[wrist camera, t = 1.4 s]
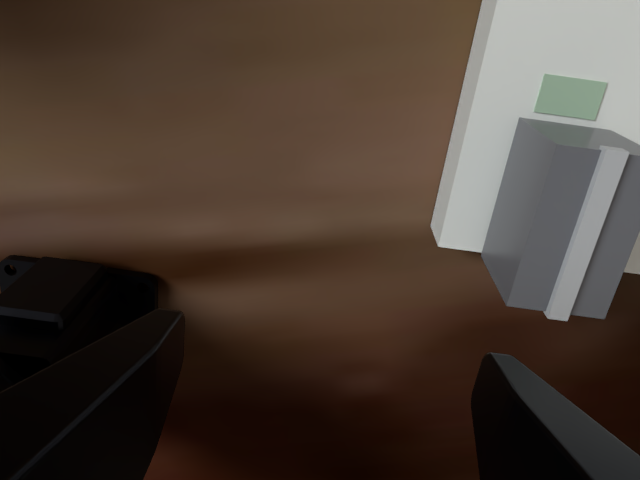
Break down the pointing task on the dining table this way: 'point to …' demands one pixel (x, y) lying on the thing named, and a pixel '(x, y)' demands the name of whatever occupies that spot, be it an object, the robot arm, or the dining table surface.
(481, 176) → the breaker panel
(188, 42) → the dining table surface
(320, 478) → the dining table surface
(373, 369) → the dining table surface
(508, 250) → the block
